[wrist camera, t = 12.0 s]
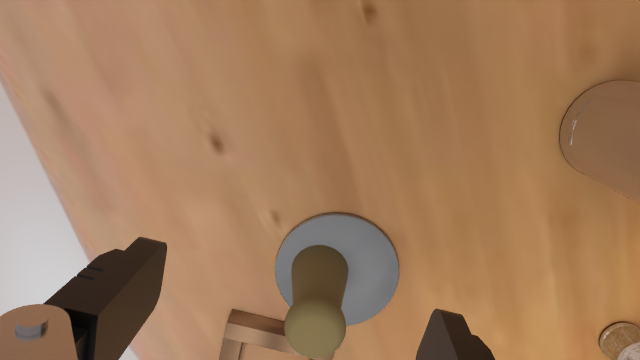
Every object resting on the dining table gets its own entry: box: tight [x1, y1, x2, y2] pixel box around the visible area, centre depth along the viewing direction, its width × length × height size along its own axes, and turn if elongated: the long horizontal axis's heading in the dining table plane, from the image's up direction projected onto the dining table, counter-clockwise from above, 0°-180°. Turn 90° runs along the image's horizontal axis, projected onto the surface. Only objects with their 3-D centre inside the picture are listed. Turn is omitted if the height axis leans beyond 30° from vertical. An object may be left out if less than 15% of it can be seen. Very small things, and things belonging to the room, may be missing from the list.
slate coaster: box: [275, 213, 399, 326], centre depth 45 cm, size 13×13×1 cm
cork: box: [284, 245, 349, 358], centre depth 40 cm, size 6×6×11 cm
